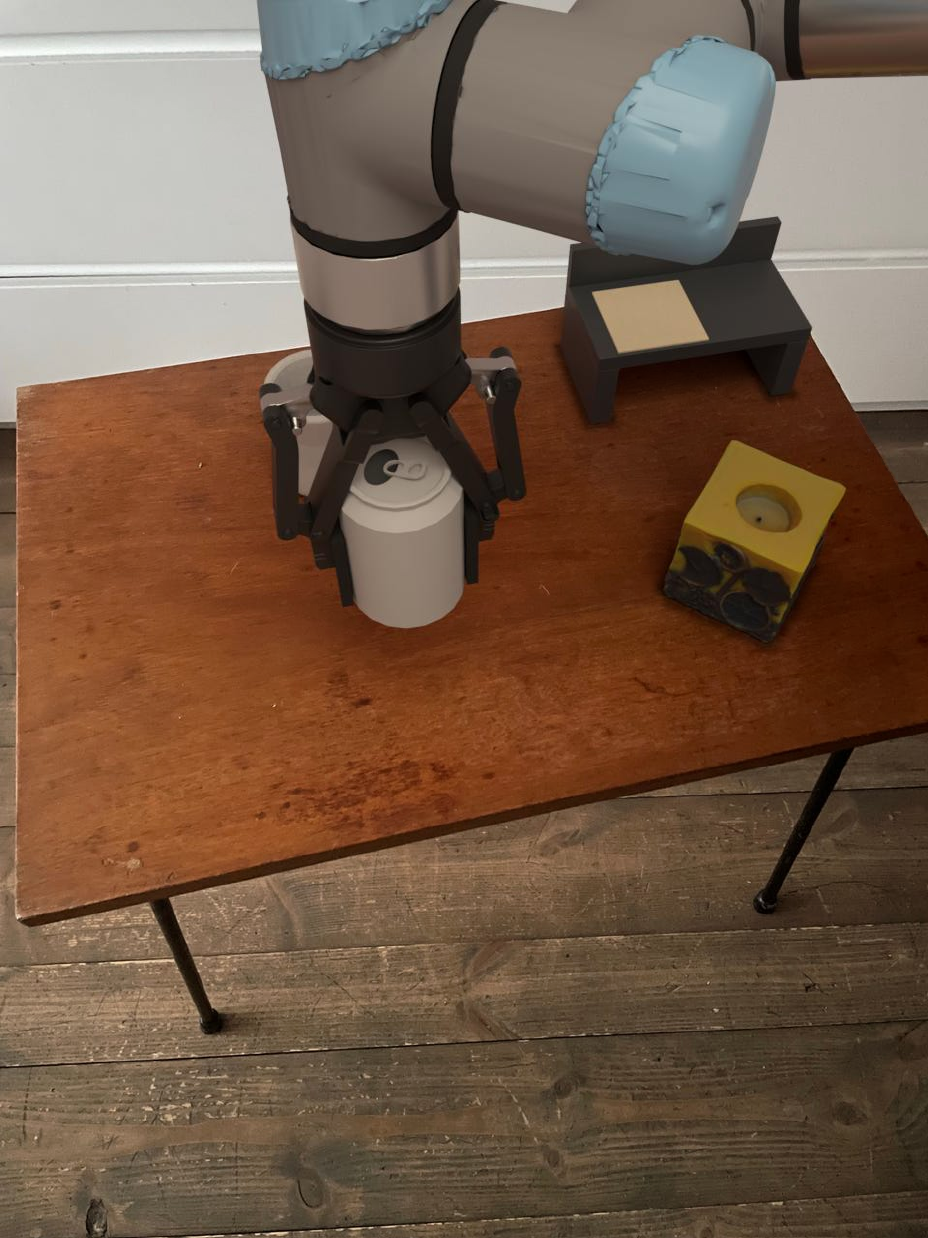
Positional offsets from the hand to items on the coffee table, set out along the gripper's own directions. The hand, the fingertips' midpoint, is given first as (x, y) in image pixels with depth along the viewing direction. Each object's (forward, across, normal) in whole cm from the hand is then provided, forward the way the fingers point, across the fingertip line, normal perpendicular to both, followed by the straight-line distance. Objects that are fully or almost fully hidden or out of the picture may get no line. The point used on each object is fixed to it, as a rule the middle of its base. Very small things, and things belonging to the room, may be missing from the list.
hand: (407, 578), depth 69 cm
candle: (+17, -29, -6) cm, 34 cm away
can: (+1, 0, 0) cm, 1 cm away
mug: (+16, +3, -28) cm, 33 cm away
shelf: (+17, -32, -32) cm, 48 cm away
